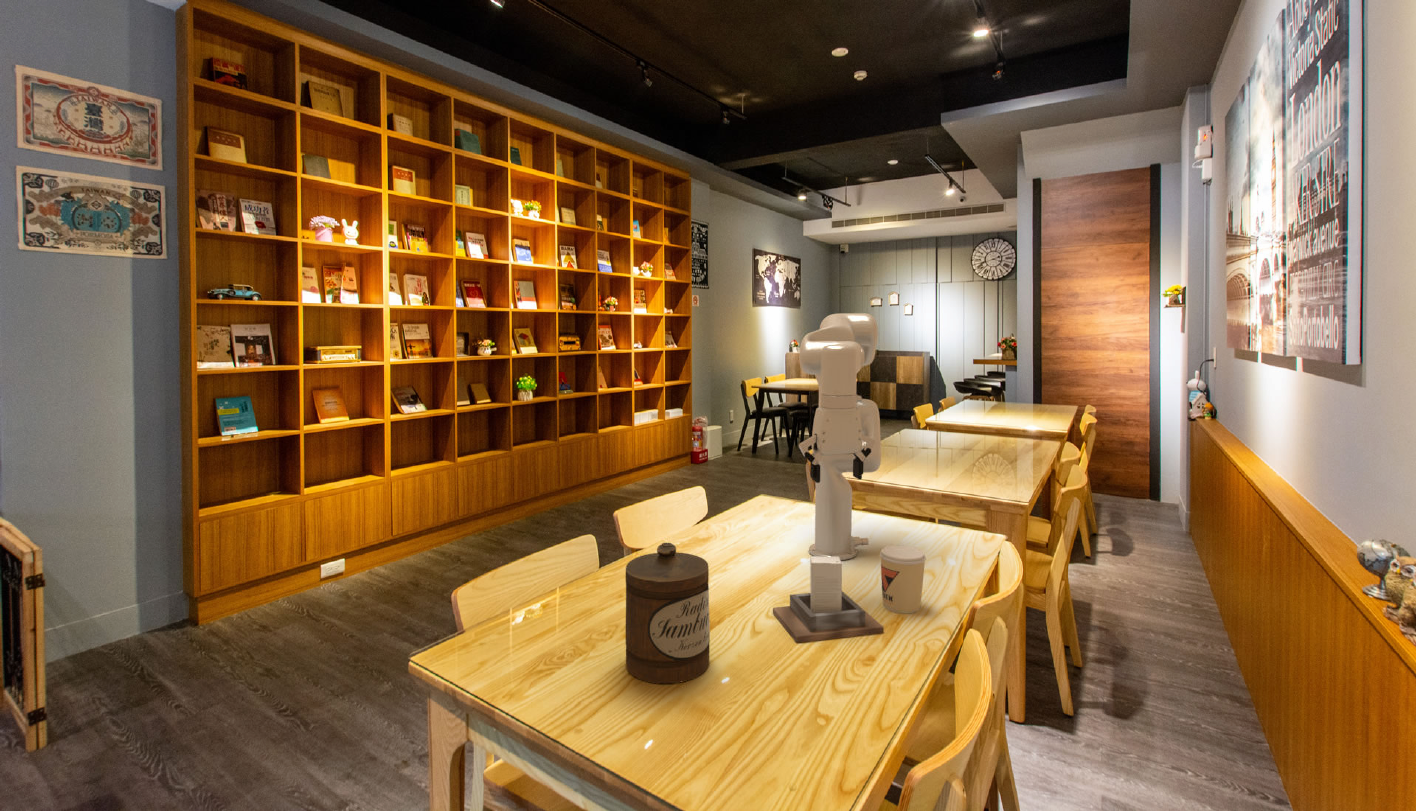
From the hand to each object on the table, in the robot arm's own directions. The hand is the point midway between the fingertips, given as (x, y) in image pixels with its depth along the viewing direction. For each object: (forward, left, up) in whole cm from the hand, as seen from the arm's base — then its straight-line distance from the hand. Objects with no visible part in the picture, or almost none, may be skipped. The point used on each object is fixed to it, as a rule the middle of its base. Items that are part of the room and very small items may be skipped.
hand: (836, 479), depth 147 cm
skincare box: (+7, +12, -26) cm, 29 cm away
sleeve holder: (+7, +12, -27) cm, 30 cm away
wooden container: (+41, +21, -27) cm, 54 cm away
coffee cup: (-12, +8, -27) cm, 30 cm away
